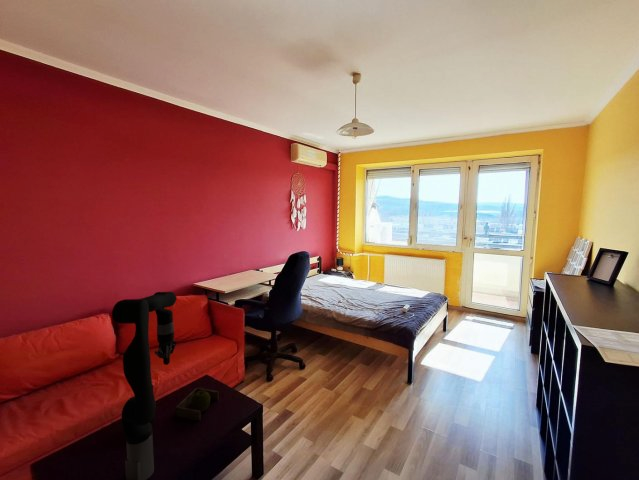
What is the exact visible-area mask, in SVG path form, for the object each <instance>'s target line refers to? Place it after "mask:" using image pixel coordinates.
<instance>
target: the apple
mask: <svg viewBox="0 0 639 480" xmlns="http://www.w3.org/2000/svg"><path fill="white" fill-rule="evenodd" d="M210 404H211V399H210V395H209V393H208V392H206V391H203V390H202V391H198V392H197V393H196V394H195V395H194V396H193V398H192V400H191V403H190V405H191V407H192V408H191V409H195V410H200V411H201V413H203V412H204V411H206V410H208V408H209V406H210Z"/></svg>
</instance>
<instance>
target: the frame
mask: <svg viewBox="0 0 639 480" xmlns="http://www.w3.org/2000/svg"><path fill="white" fill-rule="evenodd" d="M202 390H203V391H206V392H208V393H209V395H210V400H214V401H219V400H220V398H219V397H220V396H219V393H220V392H219V390H213V389H207V388H203V387H195V388H194V389H193V390H192V391H191V392H190V393H189V394H188V395H187V396H185V398H184V399H182V401H181V402H179V403H178V404H177V405H176V406H175V411H174V412H175V417H179V418H183V419H189V420H193V421H200V422H201V419H202V414H201V413H202V412H201V411H200V410H195V409H193V408H189V406H190V405H191V400H192V398H193V396H194V395H195V394H196V393H197V392H198V391H202Z"/></svg>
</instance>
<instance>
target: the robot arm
mask: <svg viewBox="0 0 639 480" xmlns="http://www.w3.org/2000/svg"><path fill="white" fill-rule="evenodd" d="M176 302H177V294H176V293H175V292H173V291H157V292H155V293H154V294H152V295H150V296H149V295H148V296H145V297H142V298H135V299H134V298H133V299H132V298H127V299H126V298H125V299H121V300H118V301H117V302H116V303H115V304H114V306H113V308H112V312H111V318H112V320H113V321H114V322H115V323H116V324H122V325H127V324H128V325H129V324H130V325H131V324H135V332H134V336H133V338H132V339H131V342H130V343H129V345H128V346H127V348H126V349H125V350H124V351H125V352H124V353H123V355H122V369H123V374H124V378H125V379H126V382H127V383H128V385H129V387H130V388H131V390H132V392H133V396H132V397H130V398H129V399H128V400H127V401H126V402H125V403H124V405H123V407H122V411H121V423H122V431H123V432H122V433H123V436H124V437H125V443H126V459H125V461H124V465H125V467H124V469H125V480H148V479H150V478H151V477H152V475H153V473H154V471H155V460H154V459H155V458H154V438H153V437H154V435H153V426H152V425H151V424H150V423H149V422H150V421H151V420H152V418H153V416H154V417H155V413H156V409H157V408H156V407H157V406H156V405H157V404H156V398H155V394H154V393H153V391H154V386H153V387H152V385H153V381H152V369H151V367H152V366H151V365H152V364H151V352H150V351H151V350H150V340H149V339H150V338H149V337H150V335H149V330H150V329H149V327H150V325H149V324H150V313H152V312H155V314H156V339H157V343H158V346H157V347H158V349H157V350H155V351H154V355H156V357H158V358H159V359H162V361H163V362H162V363H163V365H166V366H167V365H169V364H170V360H171V359H170V357H171V355H172V354H173V353H174V351H175V348H176V345H177V344H178V342H177V341H175V328H174V326H175V325H174V313H173V311H172V310H171V309H167V308H171V307H173V306H174V305H175V304H176Z"/></svg>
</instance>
